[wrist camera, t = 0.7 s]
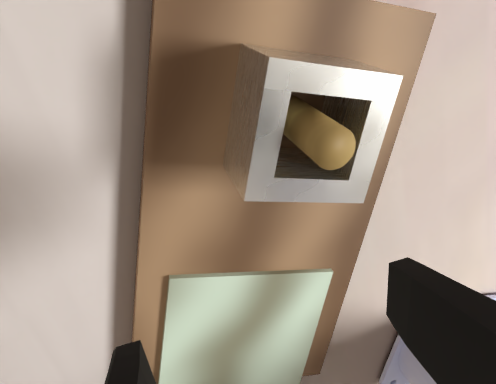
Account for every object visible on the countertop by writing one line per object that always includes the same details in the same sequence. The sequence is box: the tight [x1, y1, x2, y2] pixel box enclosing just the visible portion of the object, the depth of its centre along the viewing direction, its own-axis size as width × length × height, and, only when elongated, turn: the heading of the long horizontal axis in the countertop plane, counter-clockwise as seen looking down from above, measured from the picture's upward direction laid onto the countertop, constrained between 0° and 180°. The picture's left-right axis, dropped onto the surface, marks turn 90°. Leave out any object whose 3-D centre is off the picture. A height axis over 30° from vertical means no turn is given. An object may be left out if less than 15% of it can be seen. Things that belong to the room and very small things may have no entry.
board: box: [132, 0, 436, 384], centre depth 19 cm, size 12×22×6 cm, turn 170°
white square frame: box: [223, 43, 403, 203], centre depth 17 cm, size 5×5×4 cm
